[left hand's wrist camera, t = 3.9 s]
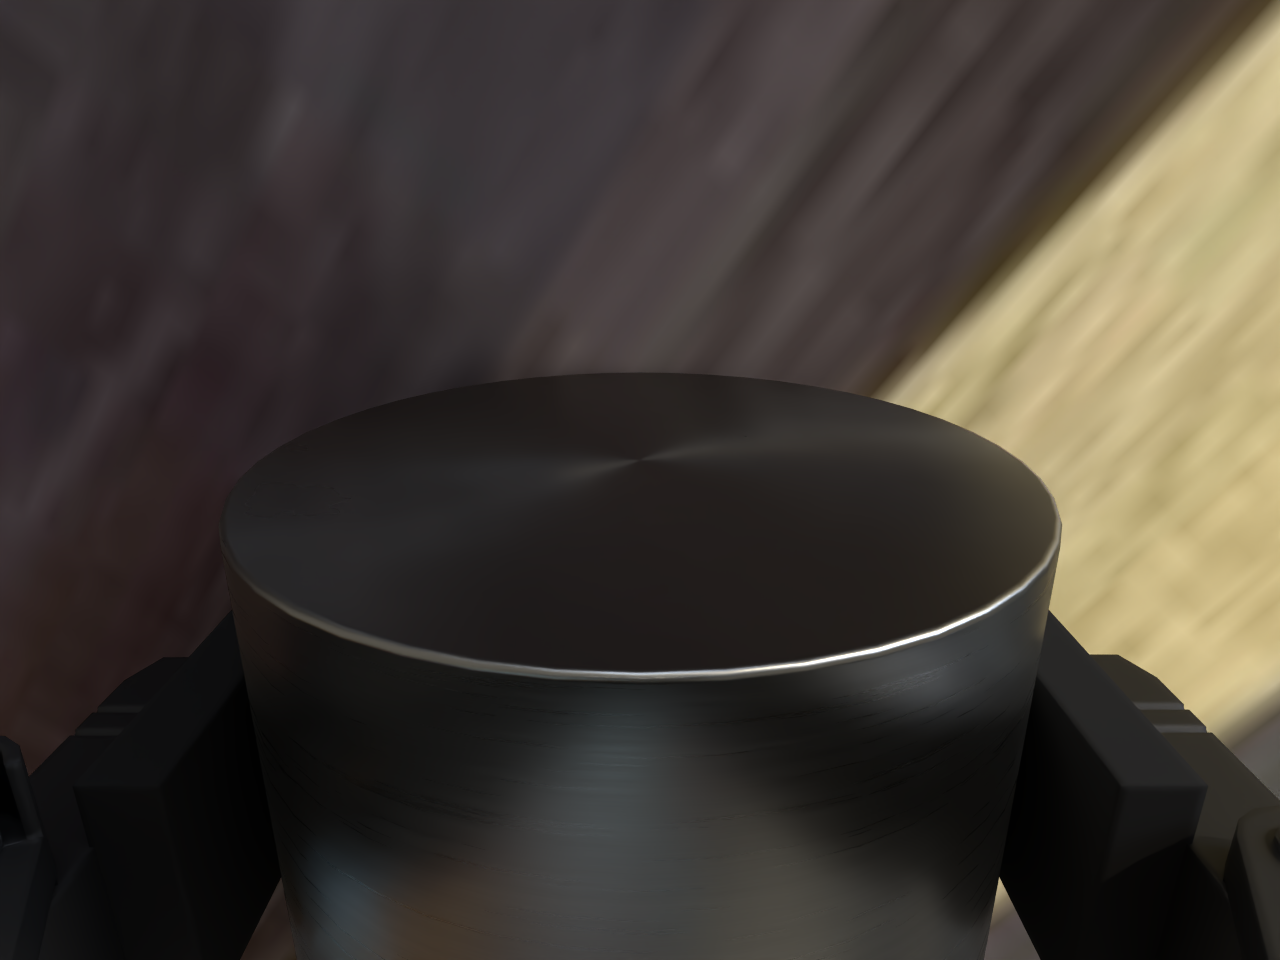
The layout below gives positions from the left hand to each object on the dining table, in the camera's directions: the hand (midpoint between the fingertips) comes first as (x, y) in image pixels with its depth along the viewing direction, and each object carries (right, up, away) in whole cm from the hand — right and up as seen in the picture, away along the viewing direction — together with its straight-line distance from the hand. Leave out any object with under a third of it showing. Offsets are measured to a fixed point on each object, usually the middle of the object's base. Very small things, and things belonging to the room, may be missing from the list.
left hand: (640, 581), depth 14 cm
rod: (0, -7, +3) cm, 8 cm away
